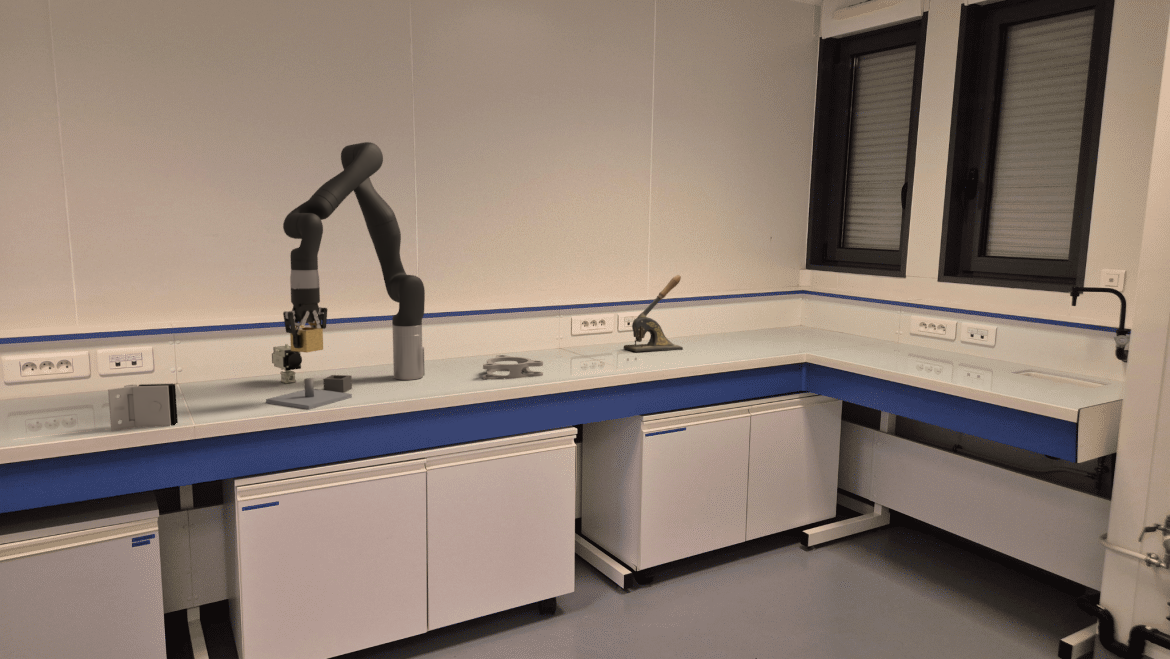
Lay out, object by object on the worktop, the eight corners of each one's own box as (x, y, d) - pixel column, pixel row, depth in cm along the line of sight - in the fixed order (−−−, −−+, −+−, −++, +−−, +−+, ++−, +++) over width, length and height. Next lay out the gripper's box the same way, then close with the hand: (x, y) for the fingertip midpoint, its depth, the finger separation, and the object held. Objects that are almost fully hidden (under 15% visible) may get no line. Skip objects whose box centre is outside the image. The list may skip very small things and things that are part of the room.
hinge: (110, 431, 178) (107, 390, 177) (114, 426, 183) (111, 385, 182) (176, 425, 184) (174, 385, 183) (179, 420, 189) (176, 381, 187)
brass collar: (307, 347, 214) (306, 326, 213) (323, 349, 211) (322, 328, 210) (290, 350, 208) (290, 329, 208) (306, 352, 206) (306, 330, 205)
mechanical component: (485, 381, 241) (485, 366, 240) (471, 371, 258) (471, 356, 257) (545, 377, 248) (545, 362, 247) (528, 367, 265) (528, 353, 265)
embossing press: (621, 349, 305) (623, 274, 300) (673, 345, 314) (675, 273, 310) (634, 353, 295) (635, 276, 290) (686, 350, 304) (688, 275, 300)
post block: (310, 391, 222) (309, 371, 221) (351, 397, 215) (351, 376, 214) (266, 402, 208) (265, 381, 207) (309, 409, 201) (308, 387, 200)
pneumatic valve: (287, 378, 240) (286, 341, 239) (303, 384, 232) (302, 345, 231) (270, 380, 237) (268, 343, 235) (286, 386, 228) (284, 347, 227)
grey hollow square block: (332, 387, 227) (332, 374, 227) (351, 388, 227) (351, 375, 226) (323, 392, 221) (323, 378, 221) (343, 392, 221) (343, 379, 220)
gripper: (314, 284, 215) (316, 342, 218) (274, 287, 203) (276, 348, 205) (334, 285, 212) (336, 344, 214) (294, 288, 199) (296, 351, 201)
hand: (307, 346), depth 210 cm, fingers closed on brass collar, 6 cm apart
